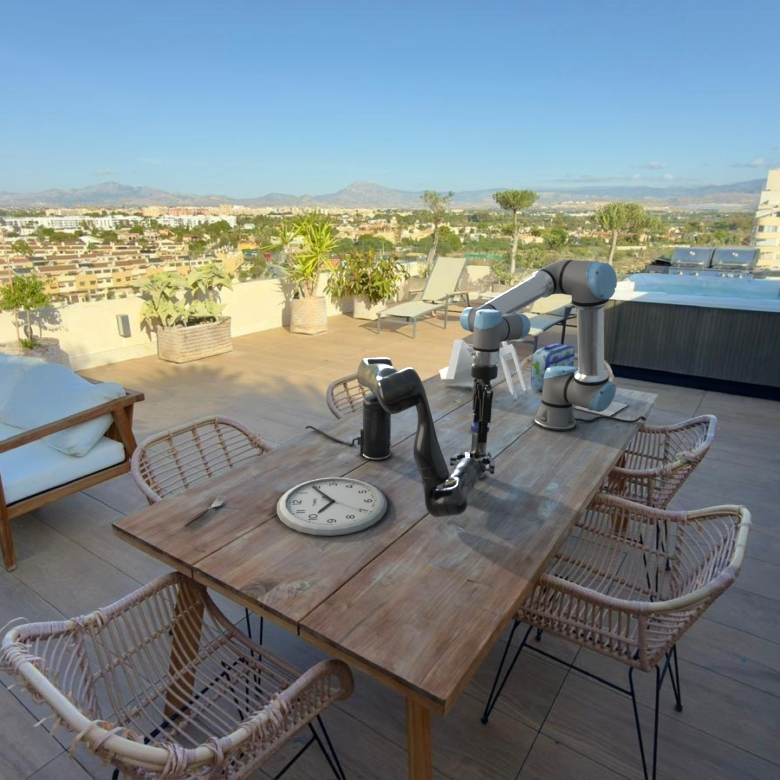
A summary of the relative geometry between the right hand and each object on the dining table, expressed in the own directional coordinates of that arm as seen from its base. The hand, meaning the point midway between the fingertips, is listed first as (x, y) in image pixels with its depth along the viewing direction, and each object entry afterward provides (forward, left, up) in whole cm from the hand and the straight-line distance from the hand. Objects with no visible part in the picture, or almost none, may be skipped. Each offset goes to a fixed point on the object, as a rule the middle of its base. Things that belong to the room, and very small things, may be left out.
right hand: (479, 438), depth 158 cm
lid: (0, 0, +4) cm, 4 cm away
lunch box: (-39, -100, -12) cm, 108 cm away
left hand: (-1, -3, -6) cm, 7 cm away
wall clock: (+40, +24, -12) cm, 48 cm away
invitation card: (-56, -75, -12) cm, 94 cm away
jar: (0, 0, -12) cm, 12 cm away
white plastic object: (-5, -87, -12) cm, 88 cm away
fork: (+72, +33, -12) cm, 80 cm away
